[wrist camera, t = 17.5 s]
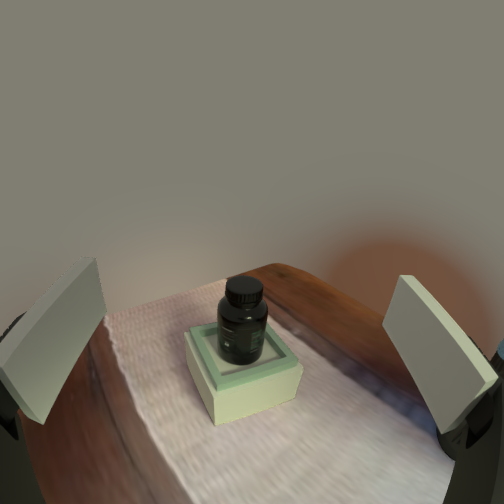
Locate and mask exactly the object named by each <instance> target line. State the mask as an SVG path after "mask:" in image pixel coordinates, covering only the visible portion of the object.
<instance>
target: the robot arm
mask: <svg viewBox="0 0 504 504" xmlns="http://www.w3.org/2000/svg"><path fill="white" fill-rule="evenodd" d="M106 312H107V310H106V306H105V302H104V297H103V293H102V288H101V283H100V278H99V273H98V268H97V262H96V258H89V257H81V258H80V259H79V260H78V261H77V262H76V263H74V264H73V265H72V266H71V267H70V268H69V269H68V270H67V271H66V272H65V273H64V274H63V275H62V276H61V277H60V278H59V279H58V280H57V281H56V282H55V283H54V284H53V285H52V286H51V287H50V288H49V289H48V290H47V291H46V292H45V293H44V294H43V295H42V296H41V297H40V298H39V299H38V300H37V301H36V302H35V303H34V304H33V306H32V307H31V308H30V309H29V310H28V311H27V312H25V313H23V314H22V315H20V316H19V317H17V318H16V319H15V320H14V321H13V322H12V324H11V325H10V326H9V329H6V331H5V332H4V333H3V336H1V337H0V504H46V502H45V500H44V498H43V495H42V493H41V490H40V487H39V485H38V482H37V479H36V476H35V473H34V470H33V467H32V464H31V461H30V457H29V454H28V450H27V446H26V442H25V438H24V434H23V429H22V424H21V420H20V417H19V415H18V413H17V411H18V409H19V407H20V408H21V410H22V411H23V412H24V413H25V415H26V416H27V417H28V418H30V419H32V420H34V421H36V422H38V423H40V424H43V425H44V422H45V420H46V418H47V416H48V414H49V412H50V410H51V408H52V406H53V404H54V402H55V400H56V398H57V396H58V394H59V392H60V390H61V388H62V386H63V384H64V383H65V381H66V379H67V377H68V375H69V373H70V372H71V370H72V368H73V366H74V364H75V363H76V361H77V359H78V357H79V356H80V354H81V352H82V351H83V349H84V347H85V346H86V344H87V342H88V341H89V339H90V337H91V336H92V334H93V332H94V331H95V329H96V328H97V326H98V324H99V323H100V321H101V320H102V318H103V317H104V315H105V313H106ZM382 326H383V327H384V329H385V330H386V332H387V334H388V335H389V337H390V339H391V341H392V342H393V344H394V346H395V347H396V349H397V351H398V353H399V354H400V356H401V358H402V360H403V361H404V363H405V365H406V367H407V368H408V370H409V372H410V374H411V376H412V378H413V379H414V381H415V383H416V385H417V387H418V389H419V391H420V393H421V394H422V396H423V398H424V400H425V402H426V404H427V406H428V408H429V410H430V412H431V414H432V416H433V418H434V420H435V422H436V424H437V436H438V439H439V442H440V444H441V446H442V448H443V450H444V451H445V452H446V453H447V454H448V455H449V456H450V457H451V458H452V459H454V460H456V462H455V466H454V470H453V473H452V477H451V480H450V483H449V487H448V490H447V493H446V496H445V498H444V501H443V504H504V339H503V340H502V341H501V342H500V344H499V345H498V347H497V351H496V353H495V354H494V356H493V357H492V359H491V360H490V361H489V360H488V359H487V357H486V356H485V355H483V352H482V351H481V350H480V348H478V346H477V345H476V343H475V342H474V341H473V340H472V339H471V337H469V336H468V335H467V334H465V333H464V332H463V331H462V329H461V328H460V327H459V326H458V325H457V323H456V322H455V321H454V320H453V319H452V318H451V317H450V315H449V314H448V313H447V312H446V311H445V310H444V309H443V307H442V306H441V305H440V304H439V303H438V302H437V301H436V300H435V299H434V297H433V296H432V295H431V294H430V293H429V292H428V291H427V290H426V289H425V288H424V287H423V286H422V285H421V284H420V283H419V282H418V281H417V280H416V278H415V277H414V276H412V275H400V276H399V279H398V282H397V285H396V288H395V291H394V294H393V297H392V300H391V302H390V305H389V308H388V311H387V313H386V316H385V318H384V321H383V323H382Z"/></svg>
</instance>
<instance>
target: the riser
mask: <svg viewBox="0 0 504 504" xmlns="http://www.w3.org/2000/svg"><path fill="white" fill-rule="evenodd" d="M189 331H190V332H184V340H185V349H186V358H187V366H188V368H189V370H190V373H191V375H192V377H193V380H194V382H195V384H196V387H197V389H198V391H199V393H200V396H201V398H202V400H203V402H204V404H205V406H206V409H207V411H208V413H209V415H210V417H211V419H212V421H213V423H214V425H215V426H218V425H221V424H224V423H228V422H231V421H234V420H237V419H240V418H243V417H246V416H249V415H252V414H255V413H258V412H260V411H263V410H266V409H269V408H271V407H274V406H276V405H279V404H281V403H284V402H286V401H289V400H291V399H294V398H295V395H296V391H297V388H298V385H299V382H300V379H301V376H302V372H303V369H304V367H303V366H302V365H301V364H300V363H299V361H298V358H297V357H296V356H295V355H294V354H293V352H292V351H291V350H290V349H289V348H288V347H287V345H286V344H285V343H284V342H283V341H282V340H281V338H280V337H279V336H278V335H277V334H276V333H275V331H274V330H273V329H272V328H271V327H270V325H269V324H268V323H267V324H266V331H265V338H264V345H263V351H262V355H261V357H260V358H259V359H258V360H257V361H256V362H254V363H252V364H249V365H244V366H238V365H233V364H230V363H228V362H226V361H225V360H223V359H222V358H221V357H220V355H219V353H218V348H217V322H215V323H210V324H206V325H201V326H196V327H191V328H189Z"/></svg>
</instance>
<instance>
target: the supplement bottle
mask: <svg viewBox="0 0 504 504" xmlns="http://www.w3.org/2000/svg"><path fill="white" fill-rule="evenodd" d="M262 298H263V284H262V283H261V281H259V280H258V279H257V278H254V277H251V276H235V277H232V278H230V279H229V280H227V282H226V291H225V296H224V297H223V298H222V299H221V300H220V302H219V304H218V309H217V348H218V353H219V355H220V357H221V358H222V359H223V360H225V361H226V362H228V363H230V364H233V365H238V366H244V365H249V364H252V363H254V362H256V361H257V360H258V359H259V358H260V357H261V355H262V351H263V345H264V338H265V331H266V324H267V316H268V307H267V304H266V302H265V301H264V300H263V299H262Z"/></svg>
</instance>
